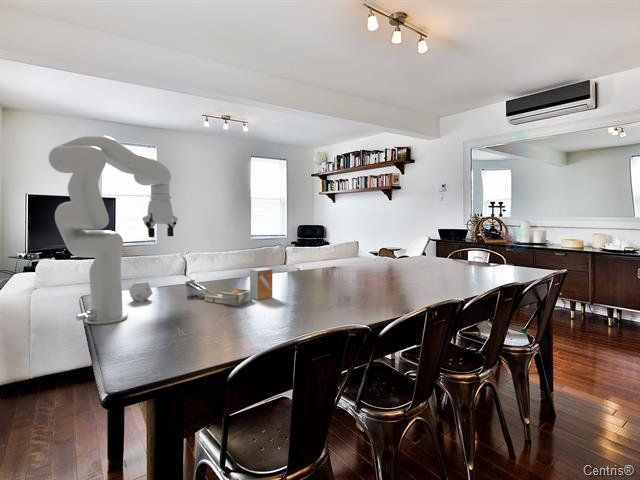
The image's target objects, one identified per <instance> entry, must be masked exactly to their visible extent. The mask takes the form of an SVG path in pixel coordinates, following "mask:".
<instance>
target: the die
mask: <svg viewBox="0 0 640 480" xmlns="http://www.w3.org/2000/svg"><path fill="white" fill-rule="evenodd" d="M128 291H129V292H128V293H129V296H130V297H131V299H132V300H133V301H134V302H140V303H144V302H145V301H147V300H148V299H149V298H150V297H151V296H152V295H153V290H152V287H151V286H150V284H149V282H147V281H137V282H135V283H133V284H132V286H130V288H129V289H128Z"/></svg>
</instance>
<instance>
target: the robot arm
mask: <svg viewBox="0 0 640 480" xmlns="http://www.w3.org/2000/svg"><path fill="white" fill-rule="evenodd" d="M48 162H49V165H50V166H51V167H52V169H54V170H55V171H57V172H59V173H62V174H63V173H64V174H71V177H70V178H69V181H68V184H67V192H68V193H67V194H68V196H69V198H70V201H64V202H62V203H60V204H59V205H58V206H57V207H56V209H55V212H54V220H55V225H56V227H57V229H58V231H59V233H60V236H61V237H62V239H63V242H64V244H65V246H66V249H67V250H68V252H69V253H70V254H71V255H73V256H74V257H78V258H94V260H93V262H92V264H91V265H90V268H89V273H88V274H89V292H90V308H88V309H87V311H85V313H80V314H77V315H76V316H75V319H76V321H82V320H85V321H86V323H87V324H89V325H95V326H97V325H108V324H109V325H110V324H114V323H119V322H122V321H124V320H126V319H127V318H128V313H127V312H125V311H123V291H122V289H123V287H122V286H123V285H122V255H123V249H124V239H123V237H122V235H121V234H119V232H116V231H114V230H113V231H112V230H106V229H105V230H103V229H104V228H106V227H108V225H109V222H110V218H109V214H108V211H107V208H106V205H105V202H104V200H103V198H102V197H103V196H102V194H101V191H100V188H99V182H100V178H101V174H102V173H103V170H104V169H105V166H106V163H107V165H110V166H111V167H114V168H115V169H117V170H118V171H120V172H122V173H125V174H129V175H133V179H134V180H135V182H136V183H137V184H139V185H141V186H150V200H149V202H148V205H147V215H145V216H144V217H142V221H143V223H144V225H145V226H146V228H147V234H148V238H155V234H156V233H155V226H156V225H157V224H158V225H159V224H162V225H166V226H167V231H166V232H167V233H166V234H167V235H166V236H167V237H174V229H175V227H176V225H177V222H178V217H177V216H175V215H174V214H173V208H172V207H173V206H172V202H171V201H170V200H171V199H172V197H171V196H170V194H171V193H170V182H171V180H172V174H171V172H170V169H168V168H167V166H165V164H163V163H162V162H160V161H158V160H156V159H153V158H151V157H148V156H145V155H141V154H139V153H136V152H133V151H132V150H131V149H129V148H128V147H126V146H125V145H123V144H122V143H120V142H119V141H118V140H116V139H115V138H112V137H110V136H107V135H99V136H98V135H97V136H96V135H95V136H93V135H92V136H82V137H78V138H74V139H72V140H70V141H67V142H63V143H62V144H59V145H57V146H55V147H53V148H52V149H51V150H50V152H49V153H48Z"/></svg>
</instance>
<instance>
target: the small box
mask: <svg viewBox="0 0 640 480" xmlns="http://www.w3.org/2000/svg"><path fill="white" fill-rule="evenodd" d="M249 290H252V300H257V301H260V300H265V299H271V298H273V269H272V268H268V267H260V268H258V267H257V268H251V269H249Z"/></svg>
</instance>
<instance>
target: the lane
mask: <svg viewBox="0 0 640 480" xmlns="http://www.w3.org/2000/svg"><path fill="white" fill-rule="evenodd" d="M235 290H237V291H239V292H240V293H239V294H231V293H232V292H225V291H218V294H217V293H216V294H217V296H214V295H212V296H206V295H205V297H204V301H205V302H210V303H211V302H212V303H218V304H223V305H230V306H237V307H238V306H241V305H244V304H246V303H249V302H252V301H253V299H252V290H250V289H243V288H236V289H235Z"/></svg>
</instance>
